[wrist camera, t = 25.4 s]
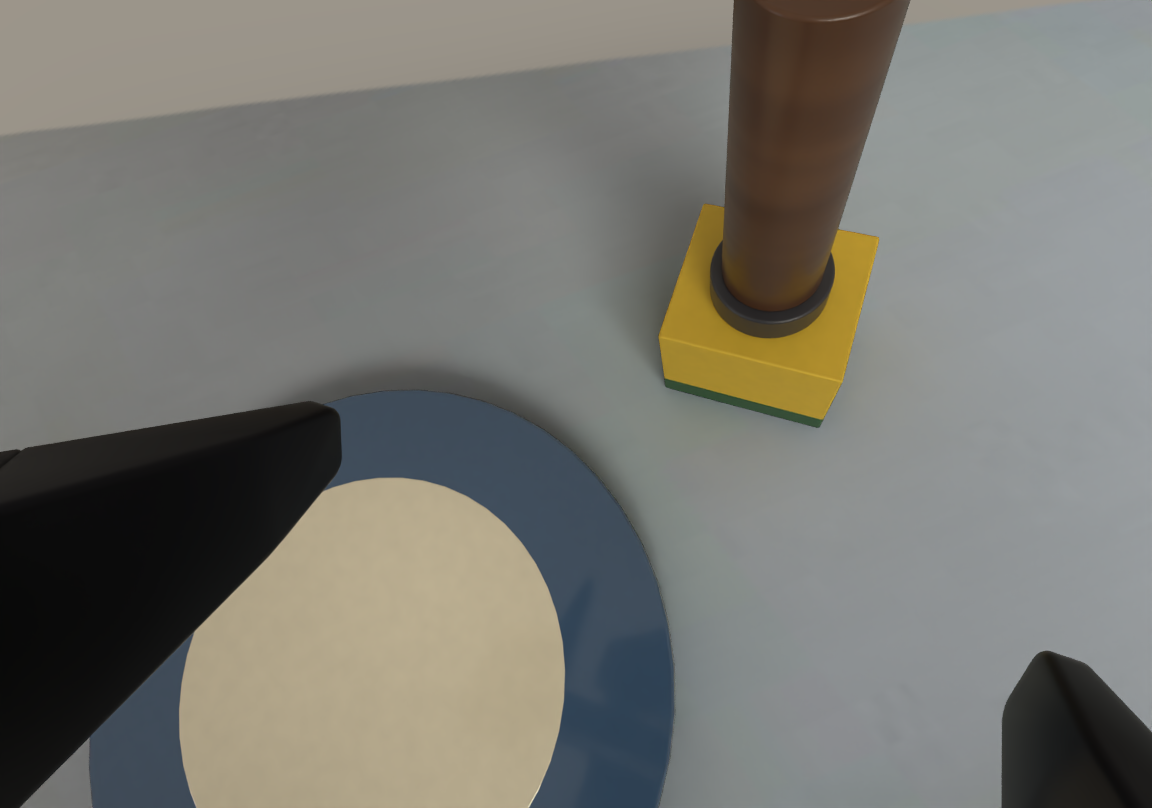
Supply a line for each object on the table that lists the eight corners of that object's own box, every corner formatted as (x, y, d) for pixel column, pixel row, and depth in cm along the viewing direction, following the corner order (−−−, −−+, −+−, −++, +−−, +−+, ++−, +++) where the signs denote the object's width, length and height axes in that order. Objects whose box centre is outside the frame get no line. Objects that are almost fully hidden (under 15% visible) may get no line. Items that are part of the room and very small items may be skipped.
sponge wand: (818, 428, 22) (988, 100, 9) (664, 387, 23) (615, 48, 10) (851, 303, 23) (1044, -150, 10) (703, 271, 24) (703, -167, 11)
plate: (813, 726, 19) (820, 731, 18) (288, 1214, 18) (260, 1253, 17) (446, 304, 26) (434, 288, 25) (38, 634, 24) (6, 633, 23)
